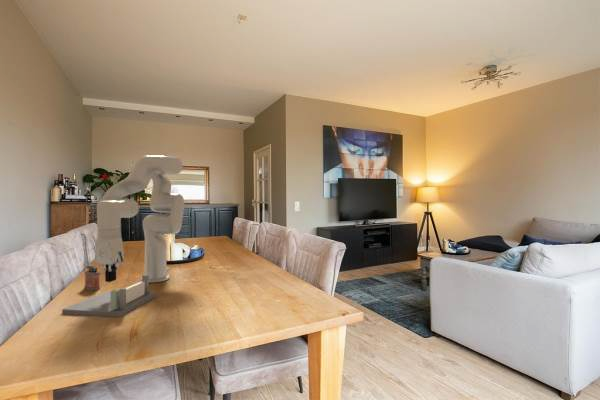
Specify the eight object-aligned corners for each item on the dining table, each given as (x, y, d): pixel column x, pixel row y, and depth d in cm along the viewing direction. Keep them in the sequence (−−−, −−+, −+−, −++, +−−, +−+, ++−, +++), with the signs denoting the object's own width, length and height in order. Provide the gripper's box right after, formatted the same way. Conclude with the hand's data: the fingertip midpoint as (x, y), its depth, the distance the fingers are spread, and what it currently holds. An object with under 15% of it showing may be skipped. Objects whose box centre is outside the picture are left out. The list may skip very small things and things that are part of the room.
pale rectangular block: (140, 294, 118) (140, 278, 118) (144, 294, 118) (145, 279, 118) (110, 309, 102) (110, 291, 102) (115, 309, 102) (115, 291, 102)
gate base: (108, 294, 124) (108, 272, 124) (156, 296, 121) (156, 274, 121) (62, 313, 103) (62, 287, 103) (119, 317, 101) (119, 290, 101)
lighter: (101, 288, 131) (102, 265, 131) (93, 291, 128) (94, 267, 128) (90, 286, 135) (90, 264, 134) (82, 288, 131) (82, 265, 131)
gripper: (86, 233, 113) (87, 281, 114) (114, 236, 108) (115, 286, 109) (105, 230, 120) (106, 275, 121) (132, 233, 115) (133, 280, 116)
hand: (110, 280), depth 115 cm, fingers closed
